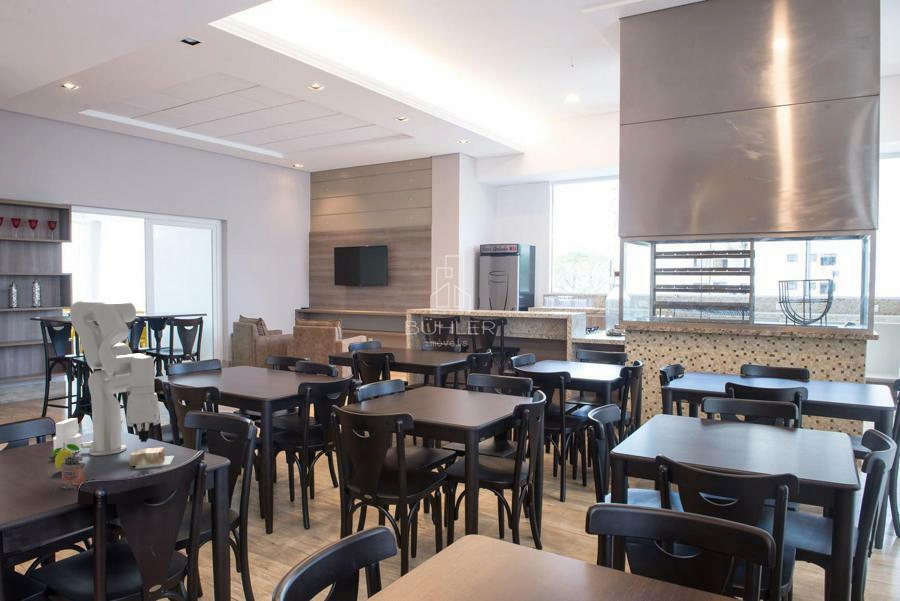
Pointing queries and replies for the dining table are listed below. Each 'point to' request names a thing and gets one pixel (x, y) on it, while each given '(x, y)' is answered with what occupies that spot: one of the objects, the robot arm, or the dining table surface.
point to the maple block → (147, 456)
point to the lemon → (63, 454)
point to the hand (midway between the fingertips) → (144, 441)
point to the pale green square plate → (165, 462)
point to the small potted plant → (72, 472)
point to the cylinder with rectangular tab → (67, 434)
